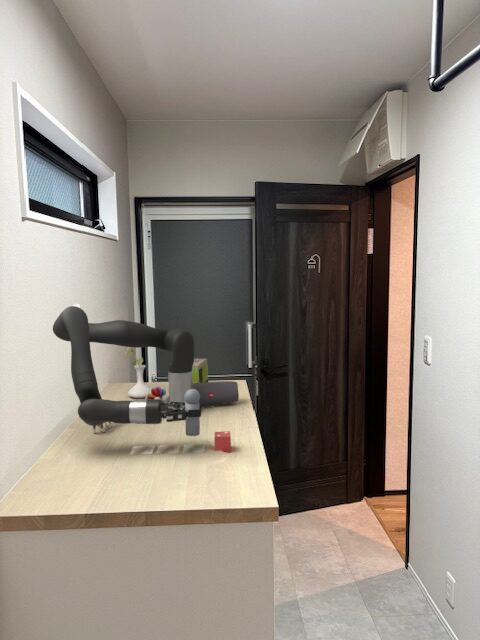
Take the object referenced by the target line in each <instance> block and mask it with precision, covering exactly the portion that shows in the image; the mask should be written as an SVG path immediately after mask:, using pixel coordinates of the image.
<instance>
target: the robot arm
mask: <svg viewBox="0 0 480 640" xmlns="http://www.w3.org/2000/svg"><path fill="white" fill-rule="evenodd" d="M53 324H54V325H52V331H53V334H54V335H55V336H56V337H57V338H58V339H60V340H62V341H65V342H70V350H71V355H70V356H71V357H70V358H71V359H70V372H71V380H72V383H73V388H74V392H75V394H76V396H77V397H78V400H79V406H78V408H77V414H78V417H79V418H80V420H82V421H83V422H84V423H85V424H86V425H89V426H91V427H93V426H96V427H97V425H99V424H101V423H102V422H103V421H110V422H111V423H114V424H118V425H119V424H120V425H122V424H127V425H128V424H129V425H130V424H133V425H134V424H135V425H160V424H161V423H162V421H163V419H166V423H170V422H178V421H179V422H180V421H185V420H186V418H189V417H200V418H201V417H202V411H203V407H202V406H201V405H199V407H200V409H196V410H189V411H188V410H187V409H185V402H186V401H185V398H184V396H185V393H186V392H187V391H188V390H190V389H193V381H192V366H193V363H194V359H195V338H194V336H193V334H192V333H191V332H190V331H187V330H184V329H179V328H178V329H177V328H158V327H153V326H150V325H147V324H145V323H140V322H135V321H130V320H124V319H118V320H112V321H111V320H110V321H103V322H95V323H94V322H93V323H92V322H89V318H88V315H87V313H86V311H84V310H83V309H82V308H81V307H79V306H76V305H69V306H67V307H66V308H64V309H62V311H61V312H60V314H59V315H58V317H57V318H56V319H55V321H54V323H53ZM91 343H98V344H104V345H112V346H113V345H114V346H118V347H119V346H120V347H127V348H128V347H129V348H130V347H135V349H137V348H157V349H161V350H164V351H167V352H171V353H172V362H170V363H168V365H167V373H168V374H167V379H168V396H169V403H168V404H163V403H162V401H161V400H160V399H146V400H145V399H134V400H133V399H132V400H110V399H105V398H104V399H103V397H102V396H101V394H100V393H101V392H100V389H99V386H98V380H97V377H96V376H97V375H96V371H95V368H94V363H93V358H92V357H93V356H92V353H91V352H92V351H91Z"/></svg>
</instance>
